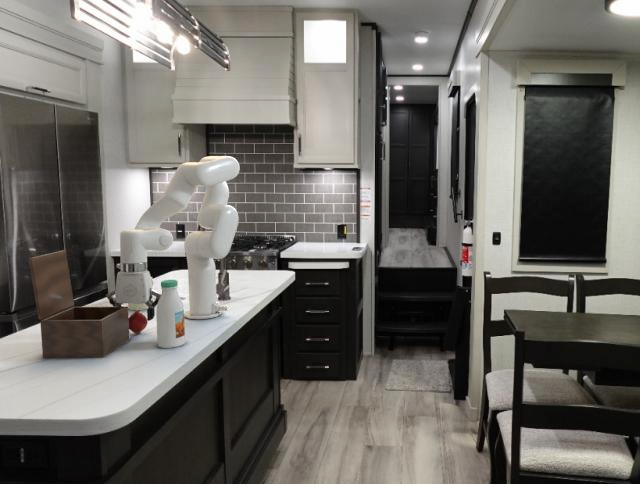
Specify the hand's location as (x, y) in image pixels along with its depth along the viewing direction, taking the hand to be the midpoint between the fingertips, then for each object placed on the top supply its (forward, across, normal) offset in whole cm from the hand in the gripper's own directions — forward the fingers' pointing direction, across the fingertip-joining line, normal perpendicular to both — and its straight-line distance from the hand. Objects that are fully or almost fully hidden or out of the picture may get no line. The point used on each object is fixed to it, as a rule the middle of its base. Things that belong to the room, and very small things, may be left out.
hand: (135, 319), depth 161 cm
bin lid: (-14, -17, -14) cm, 26 cm away
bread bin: (+5, -8, -13) cm, 16 cm away
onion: (+5, 0, +1) cm, 5 cm away
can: (+5, -14, +35) cm, 38 cm away
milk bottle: (+5, +15, -10) cm, 19 cm away
